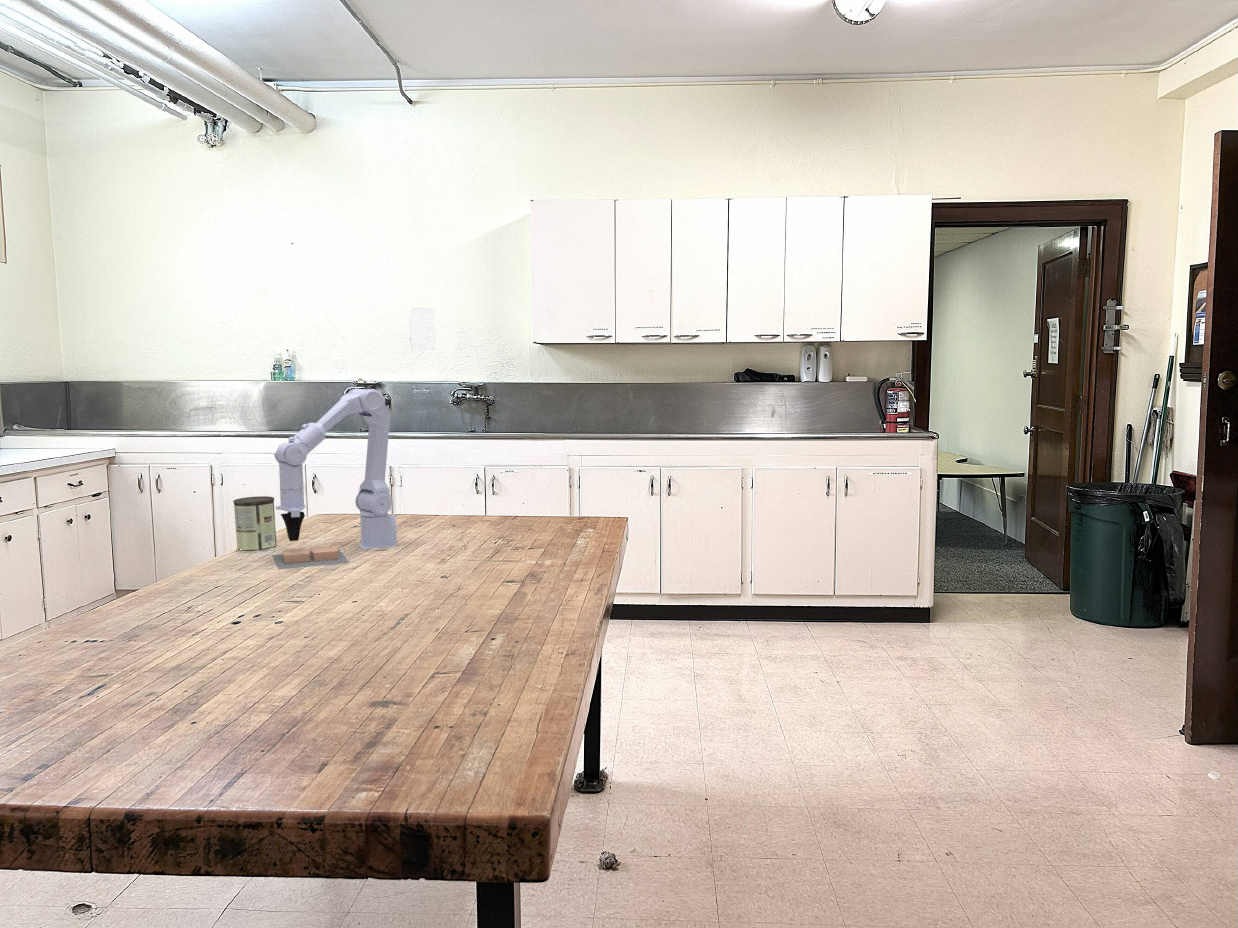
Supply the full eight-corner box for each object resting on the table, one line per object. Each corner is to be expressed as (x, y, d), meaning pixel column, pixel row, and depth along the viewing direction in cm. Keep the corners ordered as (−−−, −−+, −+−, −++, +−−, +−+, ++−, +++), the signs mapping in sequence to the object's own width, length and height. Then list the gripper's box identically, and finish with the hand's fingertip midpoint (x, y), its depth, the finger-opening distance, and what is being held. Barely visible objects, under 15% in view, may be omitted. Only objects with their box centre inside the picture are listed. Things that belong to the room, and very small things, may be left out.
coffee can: (246, 546, 247) (242, 496, 246) (282, 545, 247) (279, 495, 246) (229, 554, 237) (226, 502, 235) (268, 553, 237) (265, 501, 235)
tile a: (310, 547, 232) (313, 552, 226) (333, 545, 235) (338, 550, 229) (310, 556, 233) (314, 561, 226) (334, 554, 235) (338, 559, 229)
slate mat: (338, 550, 241) (338, 549, 241) (349, 564, 225) (349, 562, 225) (272, 556, 234) (272, 555, 234) (278, 570, 218) (278, 569, 218)
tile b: (281, 550, 229) (284, 555, 223) (306, 548, 232) (309, 553, 226) (282, 558, 230) (285, 563, 223) (306, 556, 232) (309, 561, 226)
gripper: (272, 486, 234) (274, 536, 235) (277, 493, 221) (280, 546, 222) (301, 484, 237) (302, 534, 238) (307, 491, 224) (309, 544, 225)
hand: (293, 540), depth 230 cm, fingers closed
